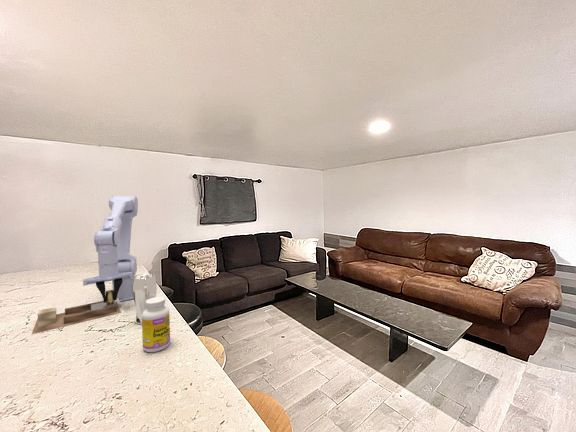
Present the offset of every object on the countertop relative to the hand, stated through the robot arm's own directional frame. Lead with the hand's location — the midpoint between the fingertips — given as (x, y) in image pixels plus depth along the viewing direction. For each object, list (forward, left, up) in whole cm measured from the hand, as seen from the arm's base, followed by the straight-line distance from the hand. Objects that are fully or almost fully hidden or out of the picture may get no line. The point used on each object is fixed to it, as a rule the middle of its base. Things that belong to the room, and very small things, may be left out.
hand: (110, 300), depth 91 cm
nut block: (+16, 0, -3) cm, 17 cm away
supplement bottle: (-8, +36, -5) cm, 37 cm away
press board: (+8, 0, -4) cm, 10 cm away
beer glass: (-9, +16, -5) cm, 19 cm away
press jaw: (+2, 0, -3) cm, 3 cm away
